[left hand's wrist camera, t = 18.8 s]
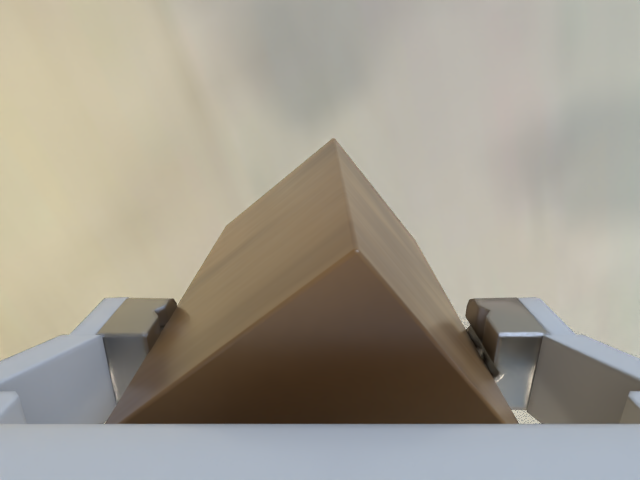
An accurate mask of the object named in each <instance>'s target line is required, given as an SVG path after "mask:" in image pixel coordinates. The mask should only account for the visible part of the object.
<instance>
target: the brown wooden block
mask: <svg viewBox="0 0 640 480" xmlns="http://www.w3.org/2000/svg"><path fill="white" fill-rule="evenodd" d="M105 424H519V423H518V421H517V419H516V418H515V416H514V414H513V412H512V411H511V409H510V407H509V405H508V403H507V402H506V400H505V398H504V396H503V395H502V393H501V391H500V389H499V388H498V386H497V384H496V382H495V380H494V379H493V377H492V375H491V373H490V372H489V370H488V368H487V366H486V365H485V363H484V361H483V359H482V357H481V356H480V354H479V352H478V350H477V349H476V347H475V345H474V343H473V342H472V340H471V338H470V336H469V334H468V333H467V331H466V329H465V327H464V326H463V324H462V322H461V320H460V319H459V317H458V315H457V313H456V311H455V310H454V308H453V306H452V304H451V303H450V301H449V299H448V297H447V296H446V294H445V292H444V290H443V288H442V287H441V285H440V283H439V281H438V280H437V278H436V276H435V274H434V273H433V271H432V269H431V267H430V265H429V264H428V262H427V260H426V258H425V257H424V255H423V253H422V251H421V250H420V248H419V246H418V244H417V242H416V241H415V239H414V238H413V237H412V235H411V234H410V233H409V232H408V230H407V229H406V228H405V227H404V225H403V224H402V223H401V222H400V220H399V219H398V218H397V216H396V215H395V214H394V213H393V211H392V210H391V209H390V208H389V206H388V205H387V204H386V203H385V201H384V200H383V199H382V197H381V196H380V195H379V194H378V192H377V191H376V190H375V189H374V187H373V186H372V185H371V184H370V182H369V181H368V180H367V179H366V177H365V176H364V175H363V173H362V172H361V171H360V170H359V168H358V167H357V166H356V165H355V163H354V162H353V161H352V160H351V158H350V157H349V156H348V154H347V153H346V152H345V151H344V149H343V148H342V147H341V146H340V144H339V143H338V142H337V141H336V139H334V138H333V139H331V140H330V141H329V142H328V143H326V144H325V145H324V146H323V147H322V148H320V149H319V150H318V151H317V152H316V153H314V154H313V155H312V156H311V157H309V158H308V159H307V160H306V161H305V162H303V163H302V164H301V165H300V166H298V167H297V168H296V169H295V170H294V171H292V172H291V173H290V174H289V175H288V176H286V177H285V178H284V179H283V180H281V181H280V182H279V183H278V184H277V185H275V186H274V187H273V188H272V189H271V190H269V191H268V192H267V193H266V194H264V195H263V196H262V197H261V198H260V199H258V200H257V201H256V202H255V203H254V204H252V205H251V206H250V207H249V208H247V209H246V210H245V211H244V212H243V213H241V214H240V215H239V216H238V217H237V218H235V219H234V220H233V221H232V222H230V223H229V224H228V225H227V226H226V227H225V229H224V230H223V232H222V233H221V235H220V237H219V238H218V240H217V242H216V243H215V245H214V247H213V248H212V250H211V251H210V253H209V255H208V256H207V258H206V260H205V261H204V263H203V265H202V266H201V268H200V269H199V271H198V273H197V274H196V276H195V278H194V279H193V281H192V282H191V284H190V286H189V287H188V289H187V291H186V292H185V294H184V296H183V297H182V299H181V300H180V302H179V304H178V305H177V308H176V309H175V311H174V313H173V315H172V316H171V318H170V320H169V321H168V322H167V323H166V325H165V327H164V328H163V330H162V331H161V334H160V336H159V338H158V339H157V341H156V342H155V344H154V346H153V347H152V349H151V351H150V352H149V353H148V354H147V356H146V358H145V359H144V361H143V363H142V364H141V366H140V367H139V369H138V371H137V372H136V374H135V376H134V377H133V379H132V380H131V382H130V384H129V385H128V387H127V389H126V390H125V392H124V394H123V395H122V397H121V398H120V400H119V402H118V403H117V405H116V407H115V408H114V410H113V411H112V413H111V415H110V416H109V418H108V420H107V421H106V423H105Z"/></svg>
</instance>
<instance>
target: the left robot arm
mask: <svg viewBox="0 0 640 480" xmlns="http://www.w3.org/2000/svg"><path fill="white" fill-rule="evenodd" d="M176 308H177V303H176V302H175V300H174V299H171V298H129V297H119V298H104V299H103V300H102V301H101V302H100V303H99V304H98V305H97V306H96V308H95V309H94V310H93V311H92V312H91V313H90V314H89V315H88V316H87V317H86V318H85V319H84V320H83V321H82V322H81V323H80V324H79V325H78V326H77V327H76V328H75V329H74V330H73V331H72V332H71V333H70V334H69V335H60V336H58V337H56V338H53V339H51V340H49V341H46V342H44V343H41V344H39V345H37V346H34V347H32V348H30V349H27V350H25V351H23V352H20V353H18V354H16V355H13V356H11V357H9V358H6V359H4V360H2V361H0V480H640V359H639V358H637V357H634V356H632V355H630V354H627V353H625V352H623V351H620V350H618V349H615V348H613V347H611V346H608V345H606V344H604V343H601V342H599V341H597V340H594V339H592V338H589V337H587V336H585V335H576V334H575V333H574V332H573V331H572V330H571V329H570V328H569V327H568V326H567V325H566V324H565V323H564V322H563V321H562V320H561V319H560V318H559V317H558V316H557V315H556V314H555V313H554V312H553V311H552V310H551V309H550V308H549V307H548V306H547V305H546V304H545V303H544V302H543V301H542V300H541V299H539V298H536V297H528V298H479V299H470V300H469V302H468V305H467V309H466V315H465V316H466V318H467V320H468V321H469V323H470V326H469V327H468V328H467V329H466V331H467V333H468V334H469V336H470V338H471V340H472V342H473V343H474V345H475V347H476V349H477V350H478V352H479V354H480V356H481V357H482V359H483V361H484V363H485V365H486V366H487V368H488V370H489V372H490V373H491V375H492V377H493V379H494V380H495V382H496V384H497V386H498V388H499V389H500V391H501V393H502V395H503V396H504V398H505V400H506V402H507V403H508V405H509V407H510V409H511V410H527V412H528V413H529V414H530V415H532V416H533V417H534V418H535V419H537V420H538V421H539V422H540V423H542V424H103V423H104V422H106V421H107V420H108V418H109V416H110V415H111V413H112V411H113V410H114V408H115V407H116V405H117V403H118V402H119V400H120V398H121V397H122V395H123V394H124V392H125V390H126V389H127V387H128V385H129V384H130V382H131V380H132V379H133V377H134V376H135V374H136V372H137V371H138V369H139V367H140V366H141V364H142V363H143V361H144V359H145V358H146V356H147V354H148V353H149V352H150V351H151V349H152V347H153V346H154V344H155V342H156V341H157V339H158V338H159V336H160V334H161V331H162V330H163V328H164V327H165V325H166V323H167V322H168V321H169V320H170V318H171V316H172V315H173V313H174V311H175V309H176Z"/></svg>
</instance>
